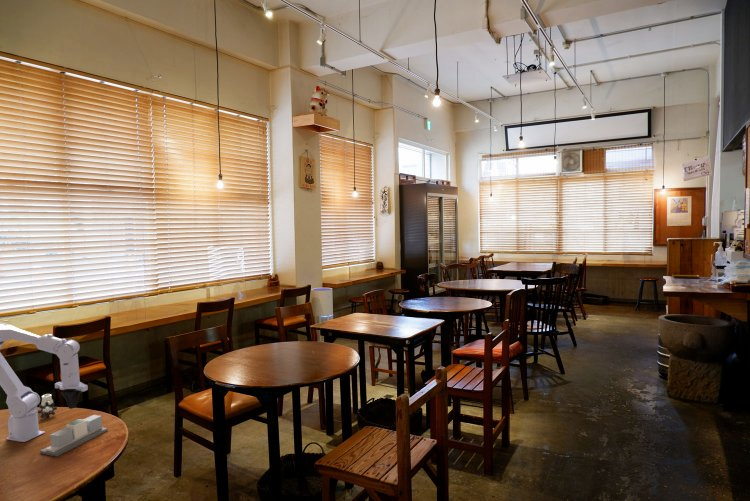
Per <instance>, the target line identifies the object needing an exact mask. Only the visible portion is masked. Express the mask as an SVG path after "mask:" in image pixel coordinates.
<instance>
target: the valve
mask: <svg viewBox="0 0 750 501" xmlns="http://www.w3.org/2000/svg"><path fill="white" fill-rule="evenodd" d="M40 402H41V404H39V409H37V413H38V414H40V415H39V416H40V418H41V419H42V418H44V417H46V419H49V418H50V417H51V415H52V416H54V415H56V411H57V409H58V407H57V406H55V403H54V399H53V398H52V393H51V394H50V393H46V394H43V395H41V401H40Z"/></svg>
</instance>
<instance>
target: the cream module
mask: <svg viewBox="0 0 750 501" xmlns="http://www.w3.org/2000/svg"><path fill="white" fill-rule="evenodd" d="M65 429H71V430H72V436H73V439H77V438H79V437H81V436H83V435H85V434H87V420H83V419H81V418H77V419H75V420H73V421H71V422H68V423H67V424H65Z"/></svg>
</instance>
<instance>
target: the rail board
mask: <svg viewBox="0 0 750 501" xmlns="http://www.w3.org/2000/svg"><path fill="white" fill-rule="evenodd" d="M82 420H87V434H85V435H83V436H81V437H79V438H77V439H73V436H72V430H71V429H66V428H62V429H60V430H57V431H55V432H53V433H51V434H49V436H50V445H49V446H47V447H45V448H43V449H40V452H39V453H40V454H42V455H47V456H53V457H58V456H61V455H62V454H65V453H67V452H69V451H71V450H73V449H75V448H77V447H79V446H80V445H82V444H84V443H86V442H89V441H90V440H92V439H94V438H96V437H98V436H100V435H102V434H104V433H105V432H108V427H104V426H103V420H102V415H97V414H93V415H90V416H88V417H85V418H83V419H82Z"/></svg>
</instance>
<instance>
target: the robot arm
mask: <svg viewBox="0 0 750 501" xmlns="http://www.w3.org/2000/svg"><path fill="white" fill-rule="evenodd" d="M10 340H14V341H19V342H22V343H25V344H26V343H27V344H31V345H35V347H36V349H37V350H40V351H44V352H47V353H50V354H53V355H56V356H57V357H58V359H59V365H60V376H61V377H60V378H61V381H58V382H56V383H54V389H59V390H61V391H60V395H61V396H62V397H63V399H64V400H65V402H66V404H67V406H68V409H71V410H73V409H75V408H77V405H78V402H79V398H80V394H81V393H82V392H86V391H88V390H89V389H88V388H89V387H88V386H89V385H88V384H86V383H83V382H81V381H80V366H79V365H80V364H79V355H78V352H79V351H80V350H81V349H80V348H81V345H80V342H78V341H76V340H74V339H67V338H59V337H56V336H54V334H52V333H49V334H43V335H38V334H36V333H32V332H30V331H27V330H24V329H21V328H19V327H17V326H14V325H13V324H7V323H5V322H0V350H1V348H2V346H3V344H4V343H5V341H10ZM0 387H1V388H2V390H3V391H4V392H5V394H6V395H7V396H6V401H5V404H6V405H7V407H8V413H9V414H10V416H9V417H8V419H7V427H8V437H6V440H9V441H14V442H15V441H16V442H21V443H26V442H28V441H30V440H33V439H34V438H37V437H38V436H41V435H43V434H45V431H44V430H40V427H39V415H38V414H39V413H38V406H39V405H40V402H41V397H40V395H39V394H38V393H37V392H34V391H33V390H32V388H30V387H29V386H25V385H24V384H23V383H22V381H21V380H20V378H19V377H18V376H17V374H16V373H15V371H14V370H13V369H12V367H11V366H10V365H9V363H8V362H7V360H6V358H5V356H3V354H2V353H1V352H0Z"/></svg>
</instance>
